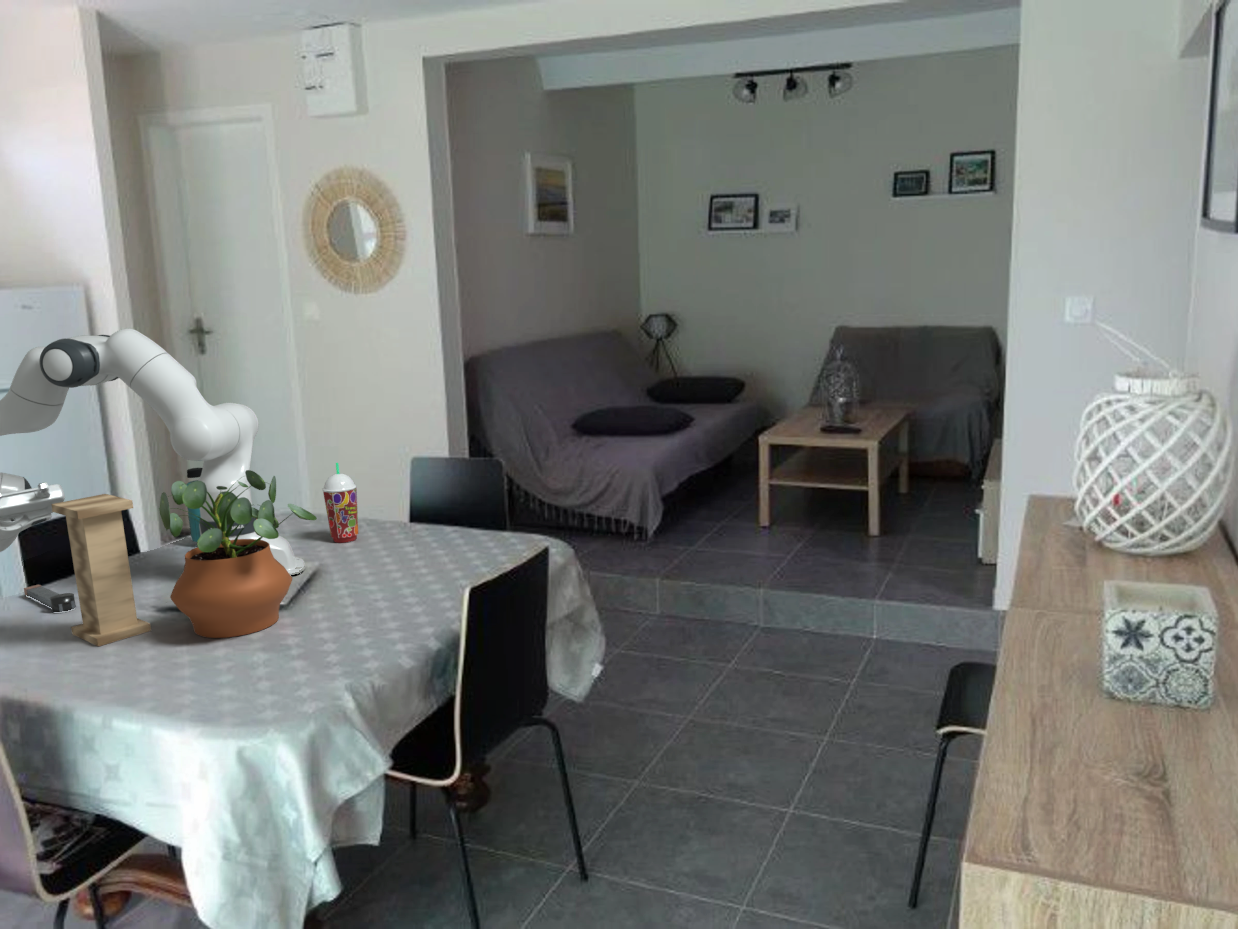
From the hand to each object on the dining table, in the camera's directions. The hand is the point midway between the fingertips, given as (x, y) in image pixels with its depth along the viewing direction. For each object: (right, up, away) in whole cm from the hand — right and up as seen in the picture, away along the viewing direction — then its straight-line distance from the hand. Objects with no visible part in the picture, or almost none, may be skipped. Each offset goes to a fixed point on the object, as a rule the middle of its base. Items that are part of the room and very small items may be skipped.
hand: (20, 490), depth 219 cm
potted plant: (+55, -26, -17) cm, 63 cm away
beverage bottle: (+20, -15, +47) cm, 53 cm away
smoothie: (+57, -14, +43) cm, 73 cm away
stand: (+29, -27, -19) cm, 44 cm away
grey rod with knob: (+5, -24, +3) cm, 25 cm away
